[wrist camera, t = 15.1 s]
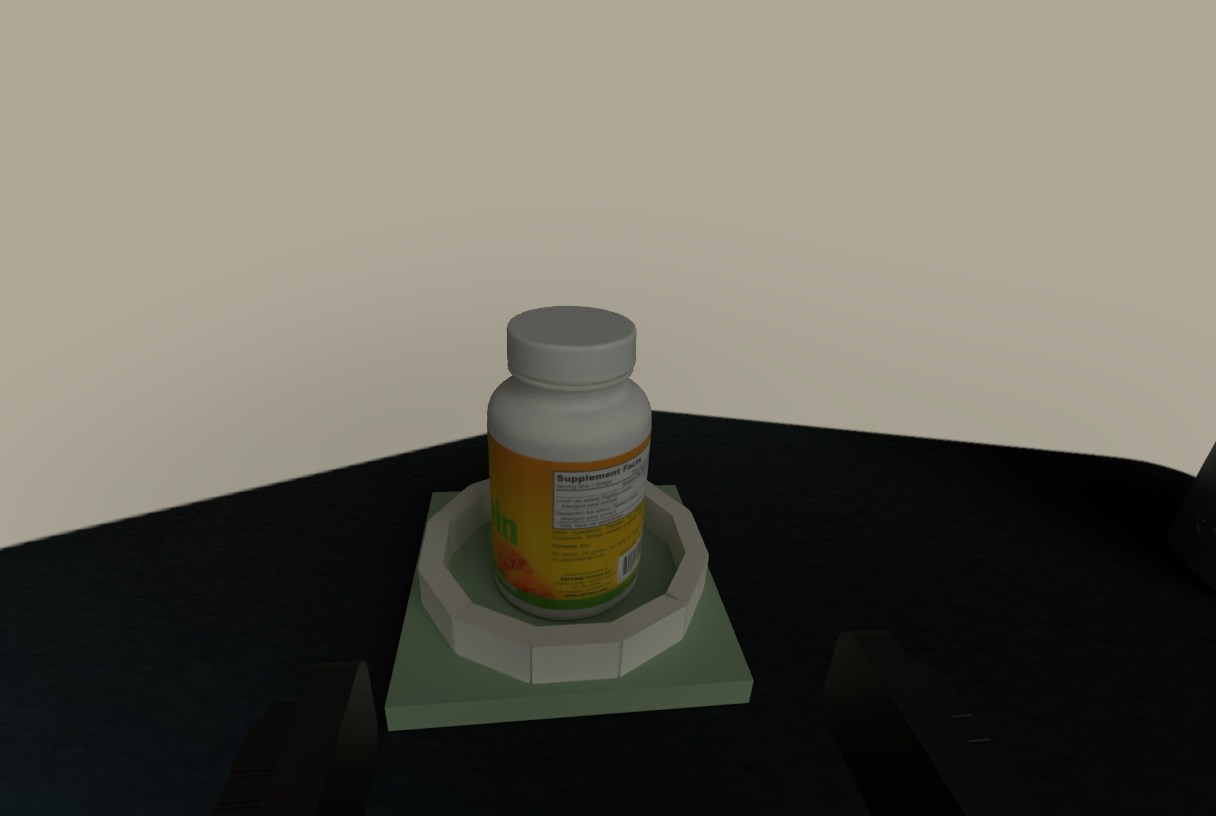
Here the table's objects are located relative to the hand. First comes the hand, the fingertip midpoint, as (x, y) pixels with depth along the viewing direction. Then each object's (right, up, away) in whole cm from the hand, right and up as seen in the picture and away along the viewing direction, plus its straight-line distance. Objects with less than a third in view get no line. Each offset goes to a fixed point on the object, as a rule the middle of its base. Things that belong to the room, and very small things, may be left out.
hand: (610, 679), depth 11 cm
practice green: (-2, -2, +13) cm, 14 cm away
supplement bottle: (-2, -2, +13) cm, 13 cm away
